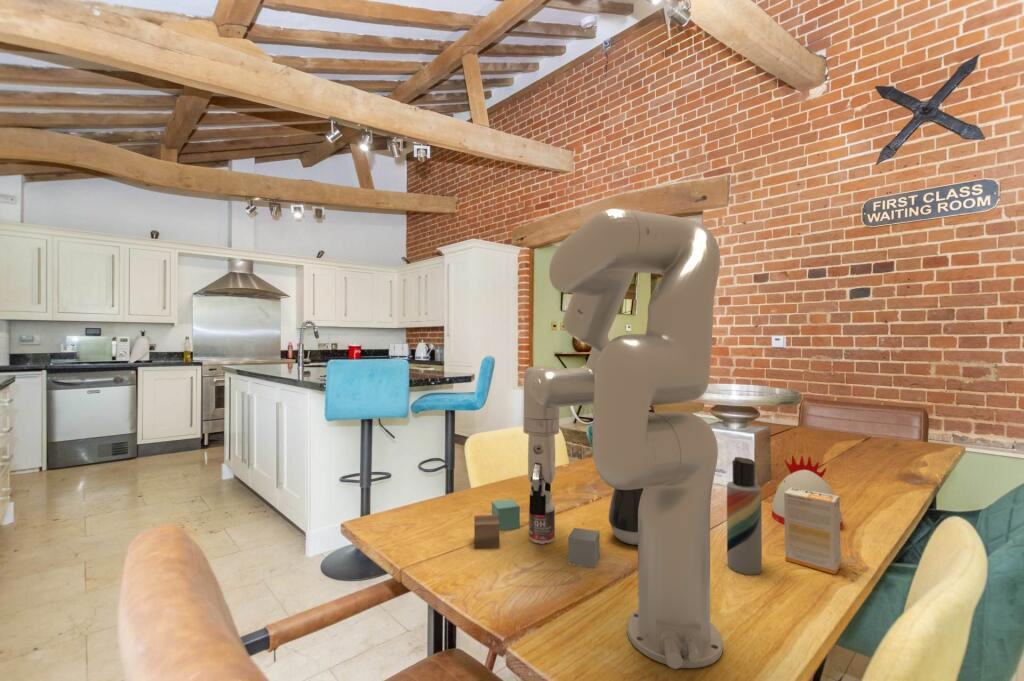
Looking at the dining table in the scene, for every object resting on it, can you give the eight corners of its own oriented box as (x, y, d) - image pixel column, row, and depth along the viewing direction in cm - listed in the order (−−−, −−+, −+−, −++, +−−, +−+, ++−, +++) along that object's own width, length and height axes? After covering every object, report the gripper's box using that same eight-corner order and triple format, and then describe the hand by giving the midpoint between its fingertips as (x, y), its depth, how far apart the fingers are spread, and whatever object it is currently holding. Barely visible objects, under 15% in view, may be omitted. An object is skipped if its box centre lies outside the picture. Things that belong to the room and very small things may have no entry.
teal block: (519, 528, 105) (519, 506, 105) (498, 531, 104) (498, 508, 104) (512, 520, 110) (512, 499, 110) (491, 523, 108) (491, 501, 109)
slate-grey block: (594, 568, 87) (594, 541, 87) (568, 564, 88) (568, 537, 88) (599, 557, 91) (599, 531, 91) (574, 553, 93) (574, 527, 93)
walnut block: (499, 548, 95) (499, 523, 95) (474, 549, 95) (474, 524, 95) (498, 538, 100) (498, 514, 100) (474, 539, 100) (474, 515, 100)
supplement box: (841, 566, 87) (841, 495, 87) (835, 575, 84) (835, 501, 84) (791, 552, 93) (791, 485, 93) (783, 560, 90) (783, 491, 90)
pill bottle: (534, 546, 96) (534, 498, 96) (525, 535, 101) (525, 490, 101) (558, 542, 98) (558, 495, 98) (549, 532, 103) (549, 487, 103)
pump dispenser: (624, 553, 93) (624, 476, 93) (600, 533, 103) (600, 463, 103) (669, 547, 95) (669, 472, 95) (642, 528, 105) (642, 459, 105)
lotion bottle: (731, 557, 91) (731, 453, 91) (764, 566, 87) (764, 458, 87) (723, 568, 86) (722, 459, 86) (757, 578, 83) (757, 464, 83)
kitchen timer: (773, 506, 119) (773, 447, 119) (839, 517, 112) (839, 453, 112) (770, 525, 107) (770, 458, 107) (845, 537, 100) (844, 466, 100)
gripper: (555, 434, 91) (554, 523, 91) (562, 418, 108) (561, 493, 108) (516, 433, 92) (515, 520, 92) (529, 417, 109) (528, 491, 109)
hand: (540, 505), depth 100 cm, fingers open, 9 cm apart
